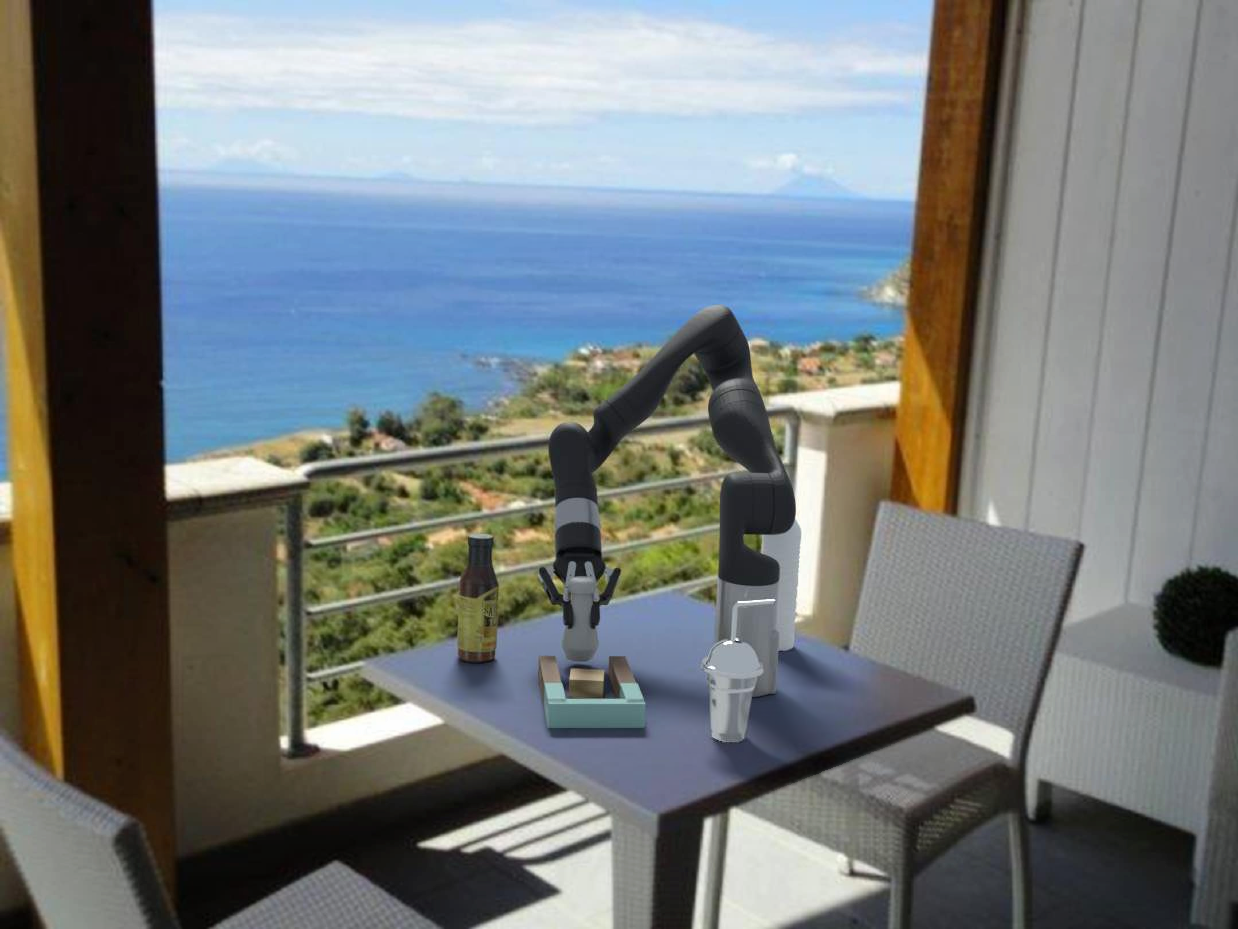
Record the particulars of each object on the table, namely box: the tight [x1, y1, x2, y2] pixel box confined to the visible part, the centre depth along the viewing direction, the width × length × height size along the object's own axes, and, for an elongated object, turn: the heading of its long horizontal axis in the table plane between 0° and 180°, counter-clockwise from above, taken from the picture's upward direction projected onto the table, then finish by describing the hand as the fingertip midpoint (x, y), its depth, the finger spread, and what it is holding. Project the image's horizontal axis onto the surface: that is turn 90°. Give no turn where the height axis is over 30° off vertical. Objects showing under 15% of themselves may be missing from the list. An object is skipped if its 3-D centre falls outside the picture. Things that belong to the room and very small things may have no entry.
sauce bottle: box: [456, 533, 500, 664], centre depth 206 cm, size 7×6×20 cm
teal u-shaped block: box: [543, 682, 646, 729], centre depth 184 cm, size 13×8×4 cm, turn 97°
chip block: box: [568, 668, 605, 699], centre depth 194 cm, size 5×5×3 cm
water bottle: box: [760, 518, 802, 652], centre depth 218 cm, size 9×6×25 cm
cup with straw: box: [700, 599, 775, 744], centre depth 177 cm, size 8×9×20 cm
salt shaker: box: [561, 576, 600, 663], centre depth 205 cm, size 6×6×13 cm
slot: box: [537, 655, 637, 705], centre depth 195 cm, size 13×14×3 cm
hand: (581, 626), depth 203 cm, fingers closed on salt shaker, 3 cm apart
